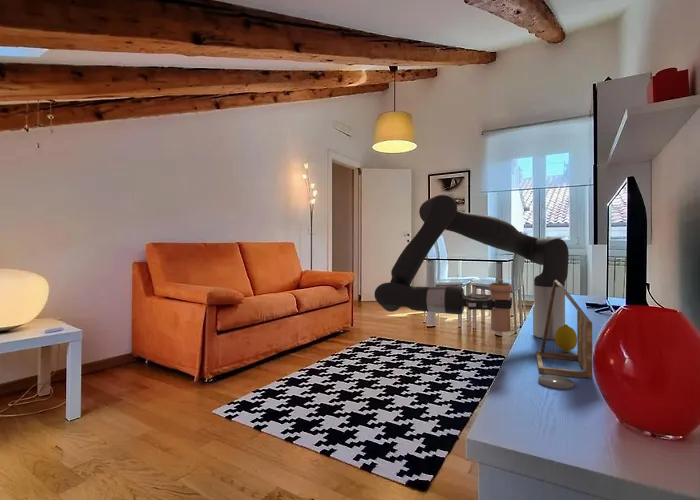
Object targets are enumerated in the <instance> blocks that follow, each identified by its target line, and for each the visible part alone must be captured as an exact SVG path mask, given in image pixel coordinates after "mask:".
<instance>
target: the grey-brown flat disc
mask: <svg viewBox="0 0 700 500" xmlns="http://www.w3.org/2000/svg"><path fill="white" fill-rule="evenodd" d="M537 381H538V383H539V384H540V385H541V386H543V387H547V388H550V389H555V390H572V389H574V388H575V382H574V381H573V380H572V379H571V378H568V377H567V376H563V375H554V374H542V375H539V376H538V377H537Z"/></svg>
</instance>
